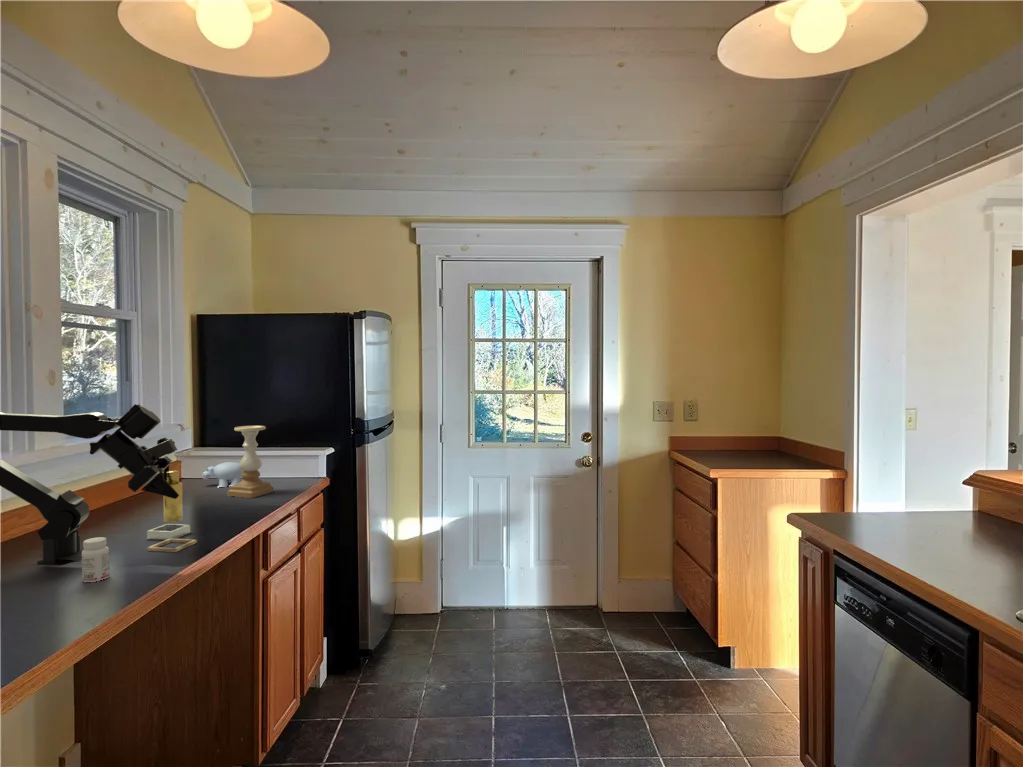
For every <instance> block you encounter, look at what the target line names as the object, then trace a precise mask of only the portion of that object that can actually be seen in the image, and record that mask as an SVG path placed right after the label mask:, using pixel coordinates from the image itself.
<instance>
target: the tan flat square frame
mask: <svg viewBox="0 0 1023 767" xmlns="http://www.w3.org/2000/svg"><path fill="white" fill-rule="evenodd" d="M197 542H198V539H190V538H176V539H172V538H170V539H167V540H161V541H160V542H158V543H155V544H152V545H150V546H148V547H146V551H147V552H164V553H165V552H167V553H177V552H179V551H181V550H184V549H186V548H188V547H190V546H193V545H195V544H197ZM169 543H178V544H179V543H180V544H181V545H179V546H176V547H163V546H165V545H167V544H169Z"/></svg>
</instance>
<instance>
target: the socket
mask: <svg viewBox="0 0 1023 767" xmlns="http://www.w3.org/2000/svg"><path fill="white" fill-rule="evenodd" d="M191 532H192V531H191V525H190V524H184V523H183V524H181V523H180V524H179V523H165V524H162V525H160V526H157V527H154V528H151V529H149V530H146V540H159V541H165V540H167V539H170V538H172V539H179V538H181V537H183V536H185V535H189V534H190V533H191Z"/></svg>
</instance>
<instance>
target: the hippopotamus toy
mask: <svg viewBox="0 0 1023 767" xmlns="http://www.w3.org/2000/svg"><path fill="white" fill-rule="evenodd" d="M239 463H240V462H234V461H233V462H229V461H227V462H221V463H219V464H216V465H215V466H214V465H211V466H209V467H207V469H206V470H205V471H203V472H202V474H201V476H202V479H203V480H208V479H210V478H216V479H218V485H217V488H218V489H220V488H219V487H225V488H228V487H229V488H231V487H230V486H233V485H237V484H238V483H239V482H241V481H242V480H241V478H242V477H241V474H242V473H243V472H244V471H243V470H241V469H240V467H239ZM230 482H231V483H230ZM229 483H230V484H229ZM227 486H228V487H227Z"/></svg>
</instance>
